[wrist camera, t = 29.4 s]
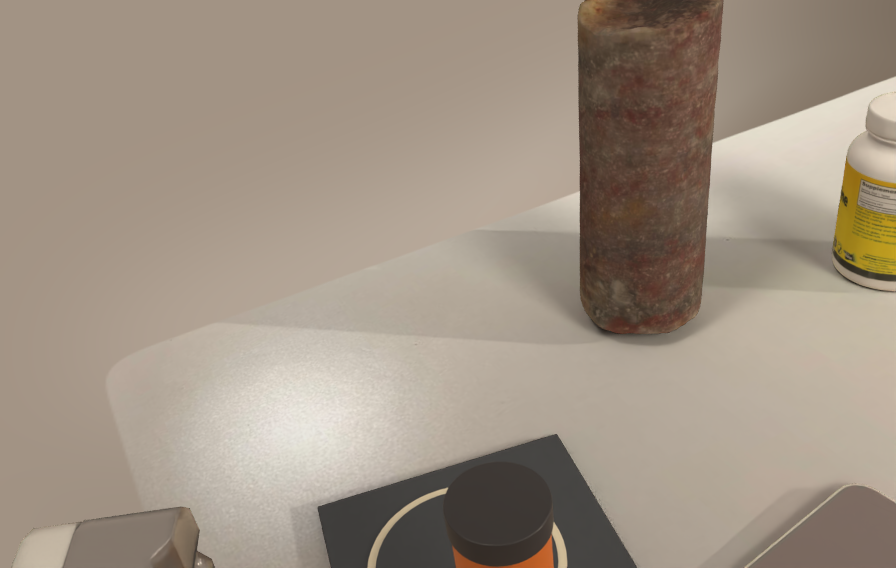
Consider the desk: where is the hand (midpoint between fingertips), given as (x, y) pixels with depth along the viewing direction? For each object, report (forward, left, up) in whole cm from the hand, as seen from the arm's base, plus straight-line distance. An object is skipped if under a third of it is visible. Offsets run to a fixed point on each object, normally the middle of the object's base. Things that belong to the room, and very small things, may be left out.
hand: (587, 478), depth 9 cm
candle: (+33, -18, -26) cm, 46 cm away
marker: (+12, -2, -26) cm, 28 cm away
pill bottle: (+31, -34, -26) cm, 53 cm away
